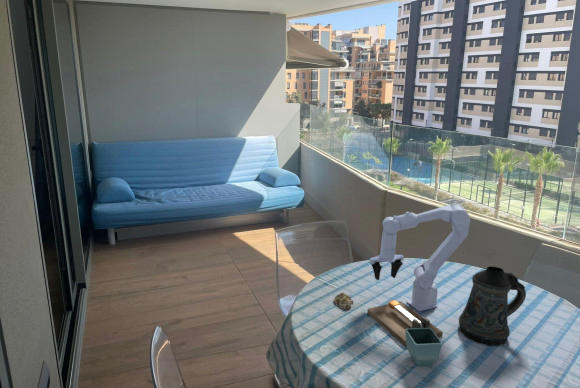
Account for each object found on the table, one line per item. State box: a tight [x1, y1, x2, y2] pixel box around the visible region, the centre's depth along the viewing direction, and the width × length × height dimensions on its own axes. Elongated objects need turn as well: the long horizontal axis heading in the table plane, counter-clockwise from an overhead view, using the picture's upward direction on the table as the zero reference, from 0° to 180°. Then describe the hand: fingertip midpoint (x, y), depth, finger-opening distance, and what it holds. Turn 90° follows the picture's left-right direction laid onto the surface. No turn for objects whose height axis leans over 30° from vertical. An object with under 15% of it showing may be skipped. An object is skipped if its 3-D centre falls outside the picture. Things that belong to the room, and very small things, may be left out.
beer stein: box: [458, 266, 527, 347], centre depth 139 cm, size 16×19×25 cm
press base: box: [366, 300, 444, 348], centre depth 145 cm, size 16×23×7 cm
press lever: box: [387, 299, 425, 328], centre depth 144 cm, size 3×17×2 cm, turn 23°
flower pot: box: [405, 328, 443, 366], centre depth 125 cm, size 9×9×9 cm
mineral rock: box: [332, 292, 354, 311], centre depth 160 cm, size 11×4×8 cm
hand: (385, 278), depth 160 cm, fingers open, 7 cm apart
